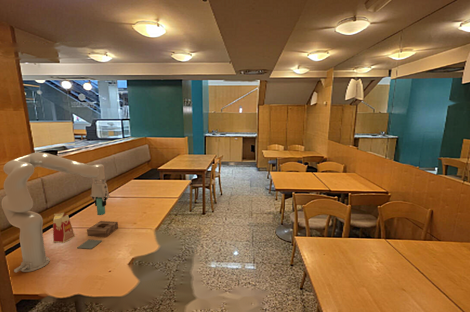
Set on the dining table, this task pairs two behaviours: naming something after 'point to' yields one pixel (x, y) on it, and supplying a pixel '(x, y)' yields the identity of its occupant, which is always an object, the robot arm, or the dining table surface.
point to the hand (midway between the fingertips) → (100, 205)
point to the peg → (100, 206)
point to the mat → (89, 244)
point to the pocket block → (102, 229)
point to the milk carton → (62, 228)
